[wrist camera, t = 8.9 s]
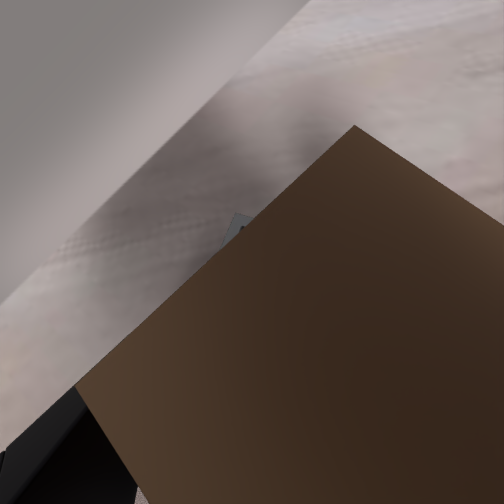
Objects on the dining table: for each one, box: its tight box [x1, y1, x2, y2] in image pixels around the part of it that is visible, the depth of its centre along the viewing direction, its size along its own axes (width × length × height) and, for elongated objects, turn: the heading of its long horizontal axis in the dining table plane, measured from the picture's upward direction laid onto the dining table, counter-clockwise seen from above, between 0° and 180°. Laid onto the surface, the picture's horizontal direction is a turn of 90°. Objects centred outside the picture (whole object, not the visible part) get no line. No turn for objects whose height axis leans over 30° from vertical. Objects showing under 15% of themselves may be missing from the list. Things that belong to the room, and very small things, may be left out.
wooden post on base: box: [74, 125, 504, 504], centre depth 9 cm, size 6×6×14 cm
